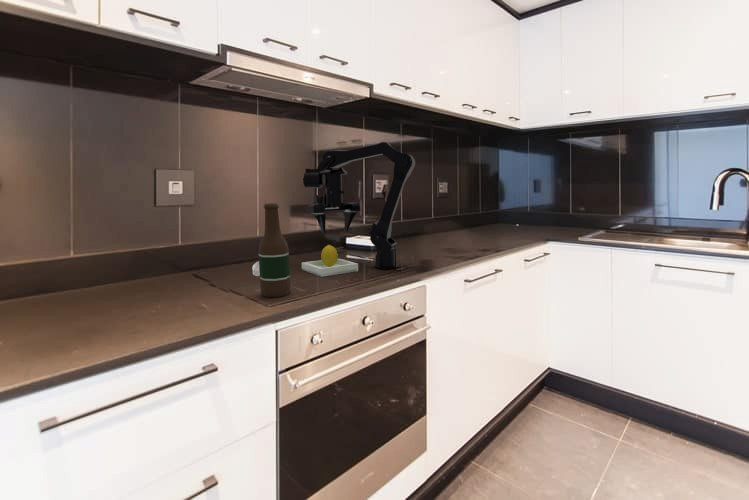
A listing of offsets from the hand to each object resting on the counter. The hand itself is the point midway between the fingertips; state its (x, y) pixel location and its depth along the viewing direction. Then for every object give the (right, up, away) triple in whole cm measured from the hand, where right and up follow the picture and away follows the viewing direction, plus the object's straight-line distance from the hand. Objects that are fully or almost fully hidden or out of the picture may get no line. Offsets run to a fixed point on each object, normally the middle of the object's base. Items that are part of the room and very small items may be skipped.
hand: (335, 232), depth 144 cm
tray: (-1, -13, -6) cm, 15 cm away
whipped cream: (-23, -15, -10) cm, 29 cm away
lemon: (-1, -13, -6) cm, 14 cm away
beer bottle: (-12, -18, -35) cm, 42 cm away
